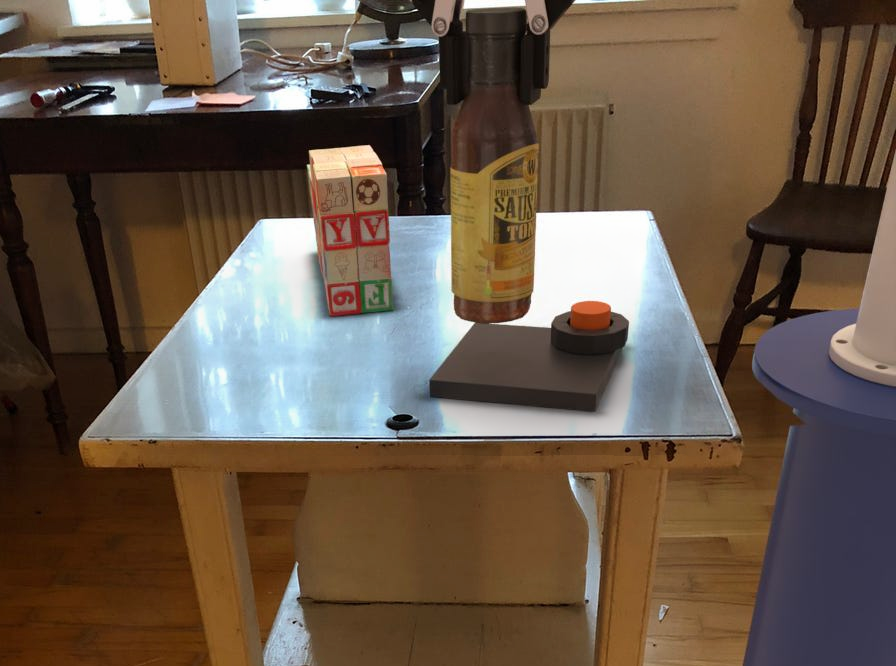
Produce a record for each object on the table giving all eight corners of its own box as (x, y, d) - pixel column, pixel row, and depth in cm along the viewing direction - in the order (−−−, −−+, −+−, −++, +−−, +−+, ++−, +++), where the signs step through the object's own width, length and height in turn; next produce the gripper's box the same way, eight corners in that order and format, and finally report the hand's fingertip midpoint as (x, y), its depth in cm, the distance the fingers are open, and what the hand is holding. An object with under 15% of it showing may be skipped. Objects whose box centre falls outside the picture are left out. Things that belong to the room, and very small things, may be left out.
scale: (630, 346, 83) (633, 311, 81) (602, 412, 73) (605, 373, 71) (476, 335, 86) (476, 302, 85) (429, 396, 76) (428, 359, 75)
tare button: (612, 320, 80) (614, 301, 79) (605, 334, 78) (607, 315, 77) (574, 318, 81) (575, 299, 80) (566, 331, 79) (567, 312, 78)
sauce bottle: (504, 333, 72) (505, 14, 60) (436, 319, 75) (424, 14, 63) (550, 307, 76) (560, 3, 64) (483, 295, 79) (481, 3, 67)
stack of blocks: (315, 253, 109) (303, 132, 102) (371, 248, 110) (362, 127, 102) (329, 317, 92) (315, 176, 85) (395, 310, 93) (386, 170, 85)
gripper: (653, -268, 56) (626, 92, 67) (378, -240, 61) (396, 92, 72) (633, -284, 50) (608, 112, 61) (332, -251, 55) (359, 111, 66)
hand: (494, 98), depth 66 cm, fingers closed on sauce bottle, 4 cm apart
